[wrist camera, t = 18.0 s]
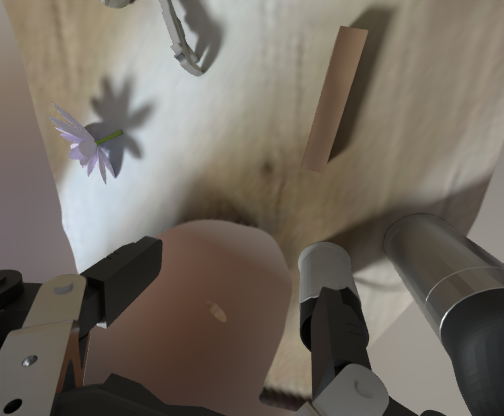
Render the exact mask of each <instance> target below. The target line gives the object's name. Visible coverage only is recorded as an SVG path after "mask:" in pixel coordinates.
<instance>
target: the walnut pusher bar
mask: <svg viewBox="0 0 504 416" xmlns="http://www.w3.org/2000/svg"><path fill="white" fill-rule="evenodd" d="M368 31H369V30H364V29H358V28H352V27H345V26H340V29H339V32H338V35H337V38H336V41H335V45H334V49H333V52H332V56H331V59H330V63H329V67H328V70H327V74H326V78H325V81H324V85H323V89H322V92H321V96H320V99H319V103H318V107H317V110H316V114H315V118H314V121H313V125H312V129H311V132H310V136H309V139H308V143H307V147H306V150H305V154H304V158H303V161H302V168H304V169H308V170H312V171H317V172H321V173H324V171H325V168H326V165H327V162H328V159H329V155H330V152H331V149H332V146H333V143H334V139H335V136H336V133H337V130H338V127H339V123H340V120H341V117H342V114H343V111H344V107H345V104H346V101H347V98H348V95H349V92H350V88H351V85H352V82H353V79H354V76H355V72H356V69H357V66H358V63H359V60H360V56H361V53H362V50H363V47H364V44H365V40H366V37H367V34H368Z"/></svg>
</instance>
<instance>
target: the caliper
mask: <svg viewBox="0 0 504 416" xmlns="http://www.w3.org/2000/svg"><path fill="white" fill-rule="evenodd" d="M159 1H160V4H161V7H162V10H163V12H162V14H163V17H164V20H165V22H166V25H167V28H168V31H169V34H170V37H171V40H172V43H173V45H172V46H170V47H171V48H172V50H173V51H174V52H175V54H176V55H174V57H175V58H176V59H177V60H178V61H179V62H180V65H181V66H182V67H183V68H184V69H185V70H186V71H188V72H189V73H190V74H193V75H195V76H197V77H198V76H200V75H202V74H204V72H203V70H202V69H201V68H200V67H199V66H198V65H197V64H196V63H198V62H199V59H198V57H197V56H196V54H195V53H194V52H193V51H192V49H191V48H190V47H189V45H188V44H187V42H186V40H185V34H184V31H183V28H182V25H181V22H180V20H179V19H178V18H177V16H176V13H175V11H174V8H173V5H172V2H171V0H159Z"/></svg>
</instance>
